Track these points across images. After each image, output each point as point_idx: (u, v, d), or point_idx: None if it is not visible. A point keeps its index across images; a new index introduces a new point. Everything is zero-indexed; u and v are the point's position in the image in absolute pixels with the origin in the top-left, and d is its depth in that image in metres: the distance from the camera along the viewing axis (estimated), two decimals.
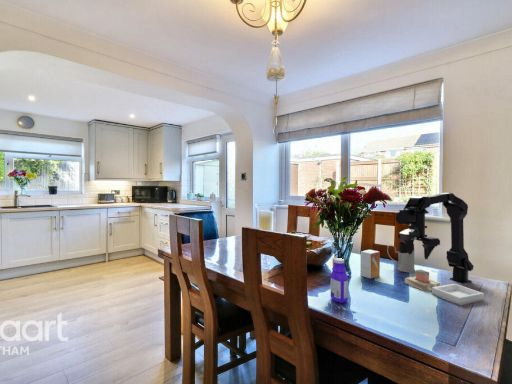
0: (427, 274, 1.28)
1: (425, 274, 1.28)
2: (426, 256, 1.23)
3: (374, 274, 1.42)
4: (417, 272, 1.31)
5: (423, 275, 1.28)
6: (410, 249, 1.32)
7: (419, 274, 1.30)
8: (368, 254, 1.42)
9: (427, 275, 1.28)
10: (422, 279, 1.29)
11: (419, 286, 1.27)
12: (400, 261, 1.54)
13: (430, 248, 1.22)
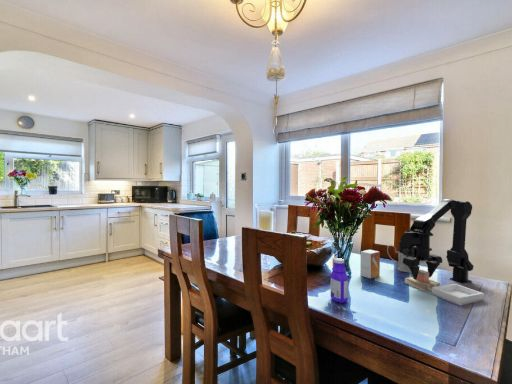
0: (427, 274, 1.28)
1: (425, 274, 1.28)
2: (413, 276, 1.29)
3: (374, 274, 1.42)
4: None
5: (423, 275, 1.28)
6: (430, 272, 1.32)
7: (419, 274, 1.30)
8: (368, 254, 1.42)
9: (427, 275, 1.28)
10: (422, 279, 1.29)
11: (419, 286, 1.27)
12: (400, 261, 1.54)
13: (414, 269, 1.27)
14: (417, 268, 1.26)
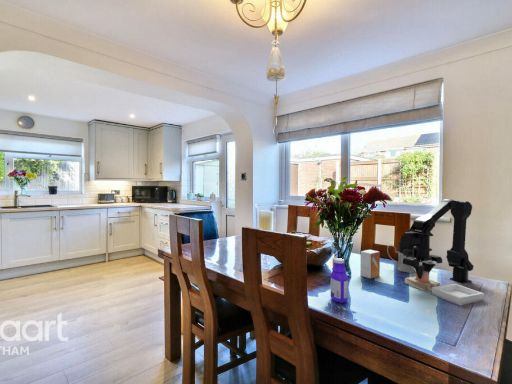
0: (427, 274, 1.28)
1: (425, 274, 1.28)
2: (418, 275, 1.30)
3: (374, 274, 1.42)
4: None
5: (423, 275, 1.28)
6: None
7: None
8: (368, 254, 1.42)
9: (427, 275, 1.28)
10: (422, 279, 1.29)
11: (419, 286, 1.27)
12: (400, 261, 1.54)
13: (419, 268, 1.28)
14: (422, 268, 1.27)
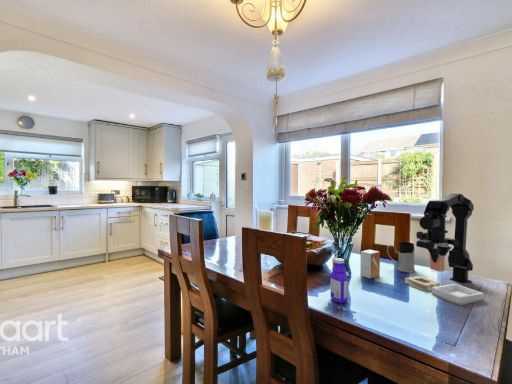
0: (442, 257, 1.22)
1: (440, 257, 1.21)
2: (432, 259, 1.24)
3: (374, 274, 1.42)
4: None
5: (438, 258, 1.22)
6: None
7: None
8: (368, 254, 1.42)
9: (442, 258, 1.22)
10: (437, 263, 1.22)
11: (419, 286, 1.27)
12: (400, 261, 1.54)
13: (434, 251, 1.22)
14: (437, 250, 1.20)
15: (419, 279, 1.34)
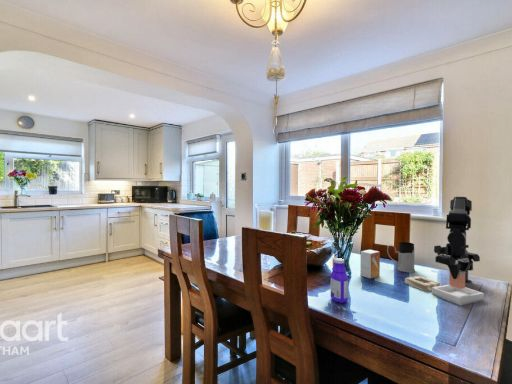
0: (463, 274, 1.15)
1: (461, 274, 1.14)
2: (452, 275, 1.16)
3: (374, 274, 1.42)
4: None
5: (459, 274, 1.14)
6: None
7: None
8: (368, 254, 1.42)
9: (463, 275, 1.15)
10: (457, 280, 1.15)
11: (419, 286, 1.27)
12: (400, 261, 1.54)
13: (454, 267, 1.15)
14: (458, 266, 1.13)
15: (419, 279, 1.34)
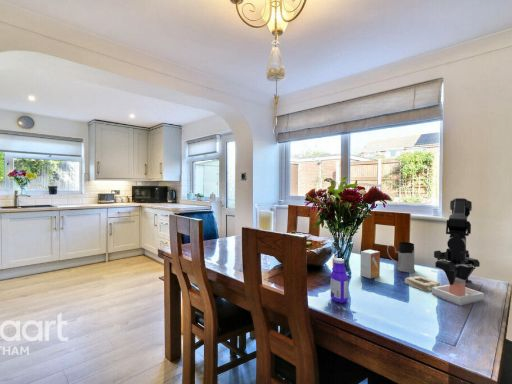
0: (463, 282, 1.15)
1: (461, 282, 1.14)
2: (449, 281, 1.16)
3: (374, 274, 1.42)
4: None
5: (459, 283, 1.14)
6: (463, 277, 1.18)
7: (454, 282, 1.17)
8: (368, 254, 1.42)
9: (463, 284, 1.15)
10: (457, 288, 1.15)
11: (419, 286, 1.27)
12: (400, 261, 1.54)
13: (451, 273, 1.14)
14: (455, 272, 1.12)
15: (419, 279, 1.34)
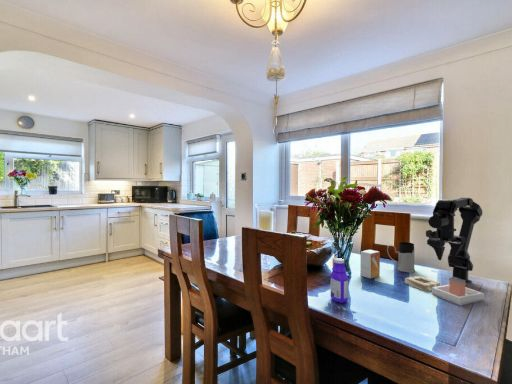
0: (463, 282, 1.15)
1: (461, 282, 1.14)
2: (438, 257, 1.28)
3: (374, 274, 1.42)
4: (451, 280, 1.18)
5: (459, 283, 1.14)
6: (453, 253, 1.31)
7: (454, 282, 1.17)
8: (368, 254, 1.42)
9: (463, 284, 1.15)
10: (457, 288, 1.15)
11: (419, 286, 1.27)
12: (400, 261, 1.54)
13: (439, 250, 1.27)
14: (442, 248, 1.25)
15: (419, 279, 1.34)
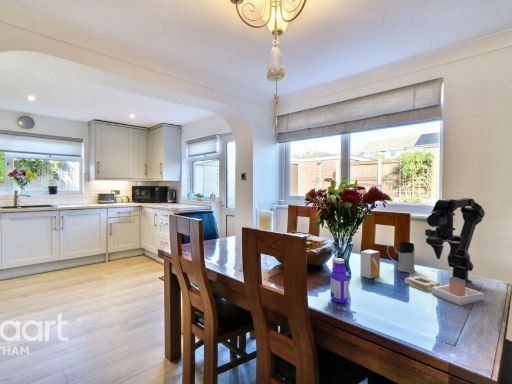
0: (463, 282, 1.15)
1: (461, 282, 1.14)
2: (436, 255, 1.29)
3: (374, 274, 1.42)
4: (451, 280, 1.18)
5: (459, 283, 1.14)
6: (453, 252, 1.32)
7: (454, 282, 1.17)
8: (368, 254, 1.42)
9: (463, 284, 1.15)
10: (457, 288, 1.15)
11: (419, 286, 1.27)
12: (400, 261, 1.54)
13: (438, 248, 1.28)
14: (441, 247, 1.26)
15: (419, 279, 1.34)
